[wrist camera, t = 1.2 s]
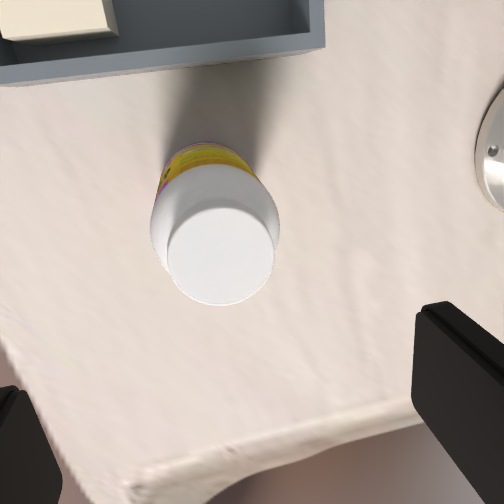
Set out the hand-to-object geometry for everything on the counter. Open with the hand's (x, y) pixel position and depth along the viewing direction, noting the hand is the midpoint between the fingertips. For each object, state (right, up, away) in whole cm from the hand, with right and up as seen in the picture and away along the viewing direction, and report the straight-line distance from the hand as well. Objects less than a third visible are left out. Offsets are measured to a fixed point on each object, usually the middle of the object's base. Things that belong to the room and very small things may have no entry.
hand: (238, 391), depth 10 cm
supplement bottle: (-3, +8, +19) cm, 21 cm away
